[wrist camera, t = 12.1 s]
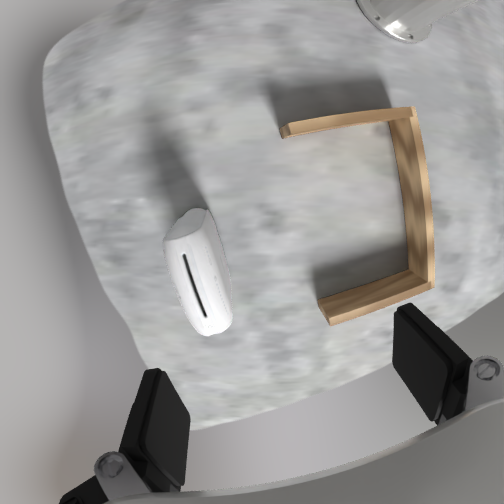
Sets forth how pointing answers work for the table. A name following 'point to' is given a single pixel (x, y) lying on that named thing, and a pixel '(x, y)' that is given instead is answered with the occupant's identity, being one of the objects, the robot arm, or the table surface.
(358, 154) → the table surface
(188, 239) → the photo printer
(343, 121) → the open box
